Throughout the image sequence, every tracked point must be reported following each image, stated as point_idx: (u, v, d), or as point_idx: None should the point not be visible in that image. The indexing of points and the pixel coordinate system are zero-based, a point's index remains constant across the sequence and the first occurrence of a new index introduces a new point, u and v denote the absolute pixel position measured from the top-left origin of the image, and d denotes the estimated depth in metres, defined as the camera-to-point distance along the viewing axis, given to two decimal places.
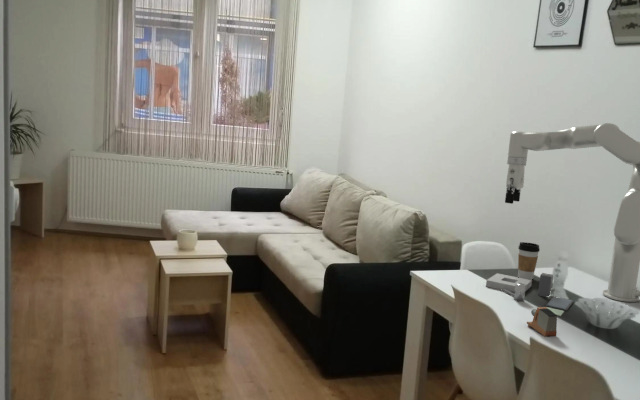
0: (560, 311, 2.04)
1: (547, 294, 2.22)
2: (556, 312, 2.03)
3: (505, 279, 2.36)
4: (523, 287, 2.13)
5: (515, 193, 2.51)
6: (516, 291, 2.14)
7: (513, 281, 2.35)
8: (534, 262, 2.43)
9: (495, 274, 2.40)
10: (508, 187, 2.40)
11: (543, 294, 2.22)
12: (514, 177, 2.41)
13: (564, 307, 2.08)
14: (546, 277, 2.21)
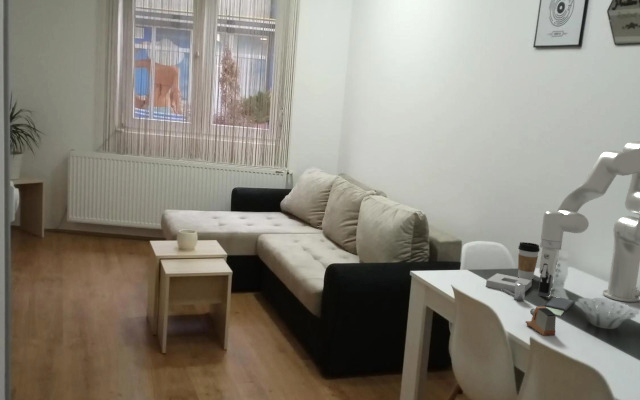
0: (560, 311, 2.04)
1: (547, 294, 2.22)
2: (556, 312, 2.03)
3: (505, 279, 2.36)
4: (523, 287, 2.13)
5: None
6: (516, 291, 2.14)
7: (513, 281, 2.35)
8: (534, 262, 2.43)
9: (495, 274, 2.40)
10: (543, 278, 2.18)
11: (543, 294, 2.22)
12: (548, 263, 2.17)
13: (563, 307, 2.08)
14: None
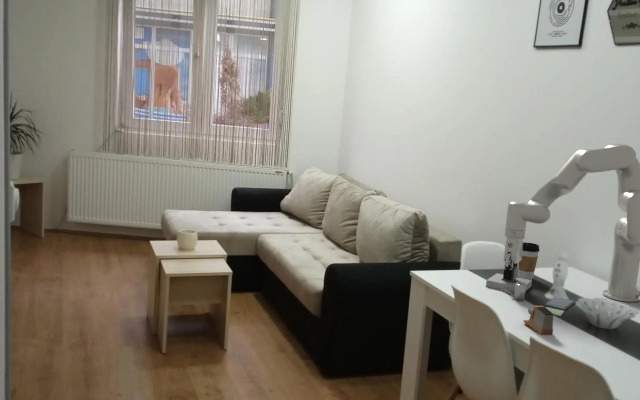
0: (560, 311, 2.04)
1: None
2: (556, 312, 2.03)
3: None
4: (523, 287, 2.13)
5: None
6: (516, 291, 2.14)
7: None
8: (534, 262, 2.43)
9: (495, 274, 2.40)
10: (506, 265, 2.26)
11: None
12: (512, 251, 2.26)
13: (563, 307, 2.08)
14: None
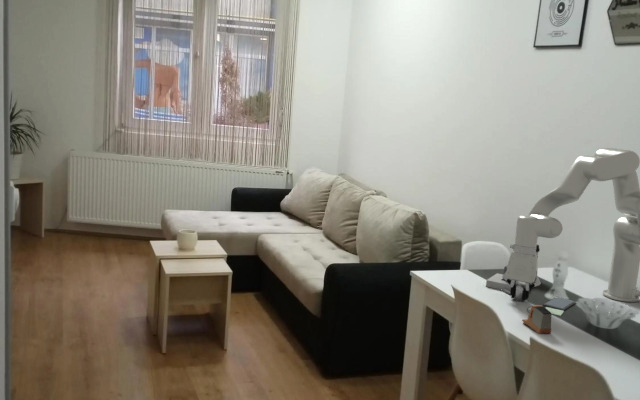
0: (560, 311, 2.04)
1: None
2: (556, 312, 2.03)
3: None
4: (523, 287, 2.13)
5: None
6: (516, 291, 2.14)
7: None
8: None
9: (495, 274, 2.40)
10: None
11: None
12: None
13: (562, 307, 2.08)
14: None
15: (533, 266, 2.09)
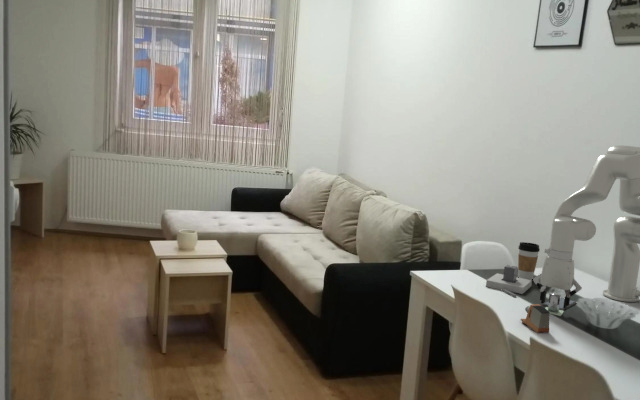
0: (560, 311, 2.04)
1: None
2: None
3: None
4: (558, 297, 2.02)
5: (565, 297, 2.02)
6: (550, 301, 2.03)
7: None
8: (534, 262, 2.43)
9: (495, 274, 2.40)
10: None
11: None
12: (542, 270, 2.04)
13: (561, 307, 2.08)
14: (510, 269, 2.30)
15: (570, 272, 1.98)
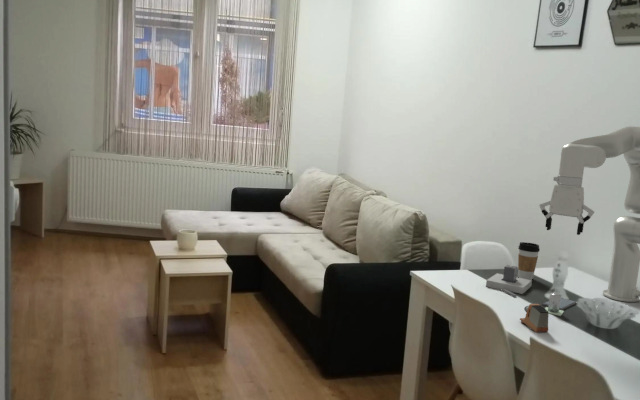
0: (560, 311, 2.04)
1: None
2: None
3: None
4: (558, 297, 2.02)
5: None
6: (550, 301, 2.03)
7: None
8: (534, 262, 2.43)
9: (495, 274, 2.40)
10: None
11: None
12: None
13: (561, 307, 2.08)
14: (510, 269, 2.30)
15: (580, 198, 1.94)
